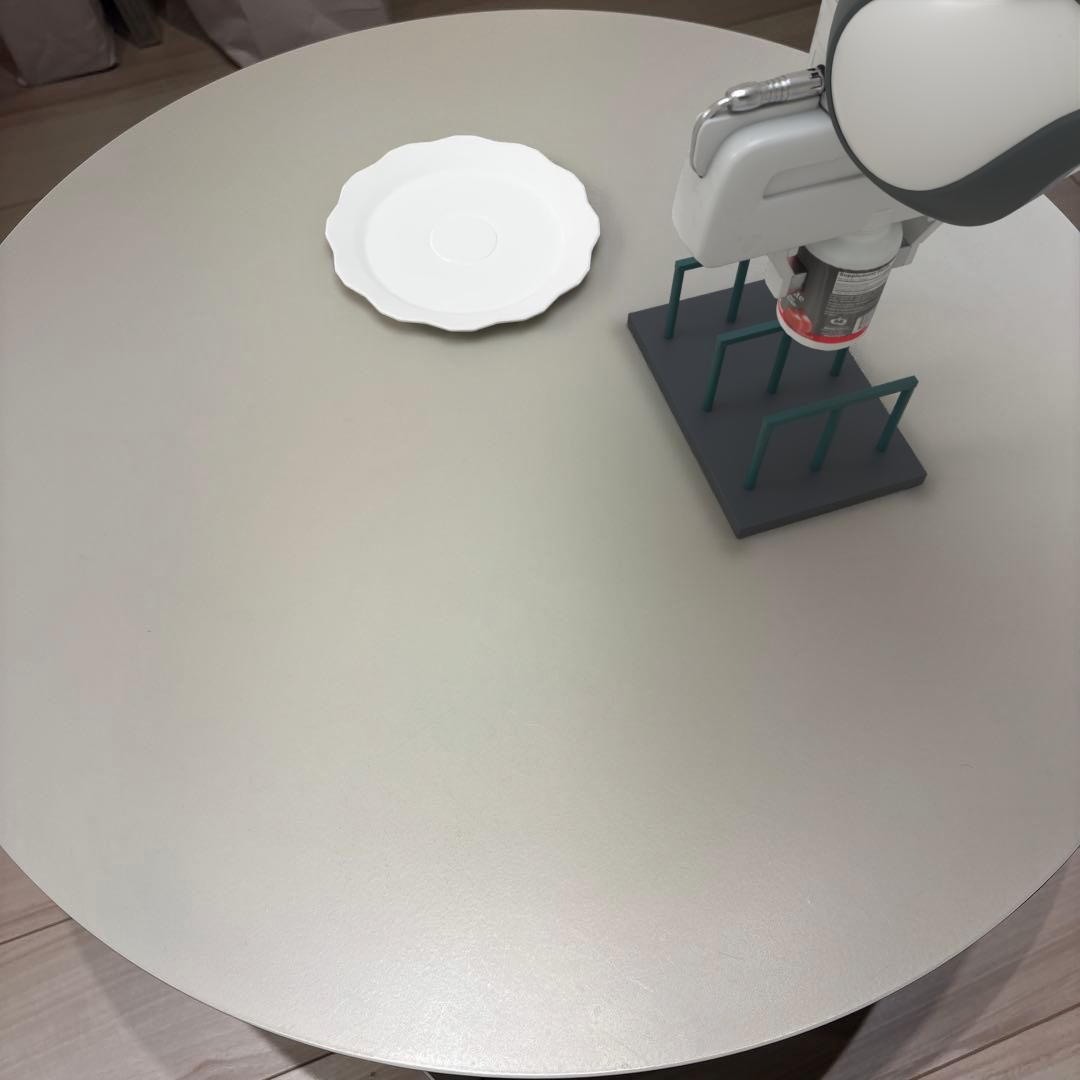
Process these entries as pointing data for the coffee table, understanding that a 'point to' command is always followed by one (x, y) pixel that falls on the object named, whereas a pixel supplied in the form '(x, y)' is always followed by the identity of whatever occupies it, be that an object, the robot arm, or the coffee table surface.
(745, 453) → the rack
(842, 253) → the pill bottle
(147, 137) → the coffee table surface
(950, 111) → the robot arm
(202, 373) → the coffee table surface
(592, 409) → the coffee table surface
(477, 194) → the plate
